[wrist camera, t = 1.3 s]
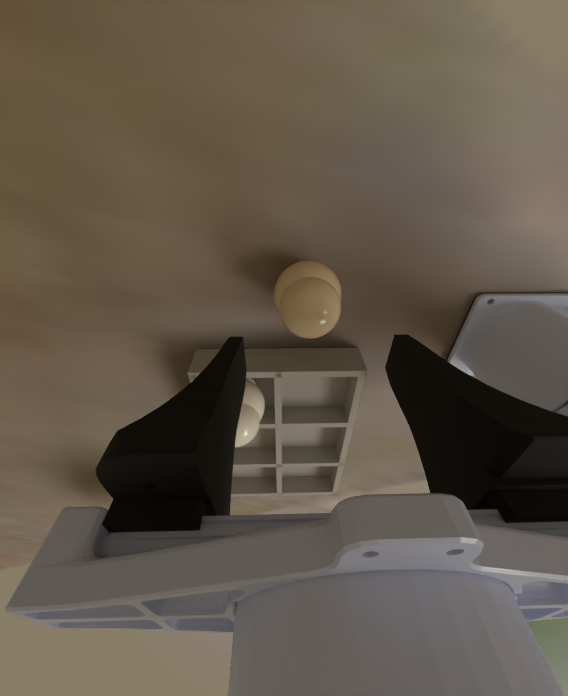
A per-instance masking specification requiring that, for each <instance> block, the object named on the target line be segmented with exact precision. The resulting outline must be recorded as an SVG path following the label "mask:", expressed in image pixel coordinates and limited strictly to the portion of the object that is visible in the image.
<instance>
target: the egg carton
mask: <svg viewBox="0 0 568 696" xmlns="http://www.w3.org/2000/svg"><path fill="white" fill-rule="evenodd" d="M219 351H220V349H196V352H195V354H194V357H193V359H192V362H191V365H190V367H189V370H188V377H189V381H190V383H191V382H192V381H193V380H194V379H195V378H196V377H197V376H198V375H199V374H200V373H201V372H202V371H203V370H204V369H205V368H206V367H207V365H208V364H209V363H210V362H211V361H212V359H213V358H214V357H215V356H216V355H217V353H218V352H219ZM244 351H245V360H246V369H247V371H246V378H254V379H255V381H256V383H257V387H258V388H259V389H260V390H261V392H262V394H263V396H264V400H265V410H264V414H263V416H262V418H261V420H260V425H259V429H258V432H257V434H256V436H255V437H254V439H253V440H252V441H251V442H249V443H248V444H246V445H244V446H241V447H235V451H234V462H233V473H232V487H231V497H234V496H284V495H334V494H337V492H338V488H339V484H340V480H341V476H342V472H343V467H344V463H345V459H346V455H347V451H348V447H349V443H350V439H351V435H352V431H353V427H354V423H355V419H356V414H357V410H358V406H359V402H360V398H361V394H362V390H363V386H364V382H365V378H366V374H367V369H366V367H365V364H364V361H363V359H362V356H361V354H360V351H359V349H358V348H262V349H244Z"/></svg>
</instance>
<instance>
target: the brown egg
mask: <svg viewBox="0 0 568 696" xmlns="http://www.w3.org/2000/svg"><path fill="white" fill-rule="evenodd" d="M341 298H342V290H341V285H340V282H339V279H338V278H337V276H336V274H335V273H334V272H333V271H332V270H331V269H330V268H329V267H328V266H326V265H325V264H323V263H320V262H317V261H311V260H305V261H299V262H296V263H294V264H292V265H291V266H289V267H288V268H286V269H285V270H284V271H283V272H282V273H281V275H280V276H279V278H278V280H277V282H276V285H275V289H274V302H275V306H276V308H277V311H278V312H279V314H280V316H281V319H282V321H283V323H284V325H285V326H286V328H287V329H288V330H289V331H290V332H292V333H293V334H295V335H296V336H299V337H302V338H308V339H312V338H318V337H321V336H323V335H325V334H327V333H328V332H330V331H331V330H332V329H333V328H334V326H335V325H336V324H337V322H338V320H339V317H340V313H341Z"/></svg>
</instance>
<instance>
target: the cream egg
mask: <svg viewBox="0 0 568 696" xmlns="http://www.w3.org/2000/svg"><path fill="white" fill-rule="evenodd" d="M264 410H265V400H264V396H263V394H262V392H261V390H260V389H259V388H258V387H257V383H256V381H255V379H254V378H246V384H245V392H244V397H243V402H242V407H241V411H240V416H239V421H238V426H237V432H236V440H235V447H241V446H244V445H246V444H248V443H249V442H251V441H252V440H253V439H254V437H255V436H256V434H257V432H258V429H259V425H260V420H261V418H262V416H263V414H264Z"/></svg>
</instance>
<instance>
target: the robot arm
mask: <svg viewBox="0 0 568 696" xmlns="http://www.w3.org/2000/svg"><path fill="white" fill-rule="evenodd" d="M490 299H491V301H489V300H490ZM488 301H489V302H488ZM385 368H386V372H387V376H388V379H389V382H390V385H391V388H392V390H393V392H394V394H395V396H396V399H397V401H398V403H399V405H400V407H401V409H402V411H403V413H404V416H405V418H406V420H407V422H408V424H409V426H410V429H411V431H412V434H413V437H414V440H415V443H416V446H417V449H418V452H419V455H420V458H421V461H422V465H423V468H424V471H425V475H426V478H427V482H428V486H429V489H430V493H423V494H378V495H361V496H354V497H350V498H347V499H345V500H343V501H341V502H339V503H338V504H337V505H336V506H335V508H334V509H333V510H332V511H331V513H311V514H268V515H230V501H231V487H232V473H233V462H234V451H235V440H236V432H237V426H238V421H239V416H240V411H241V407H242V402H243V397H244V392H245V384H246V371H247V369H246V360H245V351H244V342H243V337H230V338H228V340H227V341H226V342H225V344H224V345H223V347H222V348H221V349H220V351H219V352H218V353H217V355H216V356H215V357H214V358H213V359H212V361H211V362H210V363H209V364H208V365H207V367H206V368H205V369H204V370H203V371H202V372H201V373H200V374H199V375H198V376H197V377H196V378H195V379H194V380H193V381H192V382H191V383H190V384H189V385H188V386H187V387H185V388H184V389H183V390H182V391H181V392H179V393H178V394H177V395H175V396H174V397H173V398H171V399H170V400H169V401H167V402H166V403H165V404H163V405H162V406H160V407H159V408H157V409H156V410H154V411H152V412H151V413H149V414H148V415H146V416H144V417H142V418H141V419H139V420H137V421H135V422H133V423H131V424H129V425H128V426H126V427H124V428H122V429H120V430H118V431H117V432H116V434H115V435H114V437H113V438H112V440H111V442H110V443H109V445H108V447H107V449H106V451H105V452H104V454H103V456H102V458H101V460H100V462H99V464H98V465H97V467H96V475H97V477H98V479H99V481H100V483H101V484H102V485H103V486H104V488H105V489H106V490H107V492H108V493H109V494H110V495H111V497H112V498H113V501H112V504H111V506H110V508H109V510H107V509H105V508H102V507H66V508H64V509H62V511H61V513H60V515H59V516H58V518H57V520H56V522H55V523H54V525H53V527H52V528H51V530H50V532H49V534H48V535H47V537H46V539H45V541H44V542H43V544H42V546H41V547H40V549H39V551H38V553H37V554H36V556H35V558H34V560H33V561H32V563H31V565H30V566H29V568H28V570H27V572H26V573H25V575H24V577H23V579H22V581H21V582H20V584H19V586H18V587H17V589H16V591H15V593H14V594H13V596H12V598H11V599H10V601H9V603H8V605H7V606H6V612H8V613H11V614H13V615H16V616H19V617H21V618H24V619H27V620H29V621H32V622H35V623H37V624H40V625H43V626H45V627H48V628H50V629H53V630H74V629H75V630H78V629H118V630H153V631H182V632H211V633H233V645H232V656H231V657H232V658H231V667H230V679H229V691H228V696H565V695H564V693H563V691H562V689H561V687H560V685H559V683H558V681H557V680H556V678H555V676H554V674H553V672H552V670H551V668H550V666H549V664H548V662H547V660H546V658H545V656H544V655H543V652H542V650H541V649H540V647H539V645H538V643H537V641H536V639H535V637H534V635H533V633H532V631H531V629H530V627H529V625H528V624H527V622H526V621H535V620H545V619H556V618H567V617H568V293H538V294H481V295H479V296H478V297H477V298H476V299H475V301H474V304H473V306H472V308H471V310H470V312H469V314H468V317H467V319H466V321H465V323H464V325H463V327H462V330H461V332H460V334H459V336H458V338H457V340H456V343H455V345H454V347H453V349H452V351H451V353H450V355H449V358H448V360H447V361H446V360H444V359H443V358H441V357H440V356H438V355H437V354H435V353H434V352H433V351H431V350H430V349H428V348H427V347H425V346H424V345H423V344H421V343H420V342H418V341H417V340H415V339H414V338H412V337H411V336H409V335H394V339H393V342H392V346H391V349H390V353H389V356H388V360H387V363H386V367H385ZM470 375H475V376H476V377H477V379H478V380H477V379H476V378H474V377H472V376H470Z"/></svg>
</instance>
